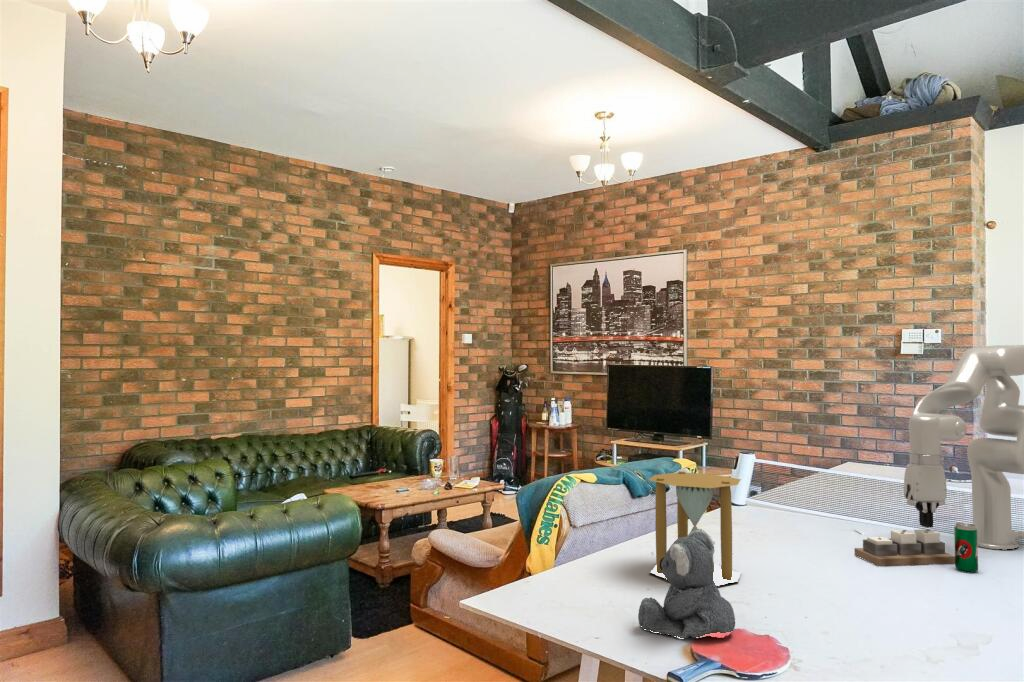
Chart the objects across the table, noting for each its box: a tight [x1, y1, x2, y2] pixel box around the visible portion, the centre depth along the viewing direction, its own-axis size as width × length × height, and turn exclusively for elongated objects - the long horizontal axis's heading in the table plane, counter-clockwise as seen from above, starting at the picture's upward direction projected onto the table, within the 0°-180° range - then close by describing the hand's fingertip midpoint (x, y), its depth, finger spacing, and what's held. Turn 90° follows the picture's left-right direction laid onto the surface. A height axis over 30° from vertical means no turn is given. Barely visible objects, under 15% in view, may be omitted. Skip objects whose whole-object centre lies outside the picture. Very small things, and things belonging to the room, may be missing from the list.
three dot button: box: [890, 529, 916, 544], centre depth 192 cm, size 4×4×4 cm
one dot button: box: [867, 536, 892, 545], centre depth 192 cm, size 4×4×4 cm
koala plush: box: [637, 528, 736, 639], centre depth 144 cm, size 17×18×20 cm
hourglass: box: [647, 470, 741, 580], centre depth 180 cm, size 24×22×25 cm
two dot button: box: [913, 528, 941, 543], centre depth 193 cm, size 4×4×4 cm
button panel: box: [854, 538, 955, 567], centre depth 192 cm, size 22×11×5 cm, turn 96°
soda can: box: [953, 522, 979, 574], centre depth 182 cm, size 5×5×12 cm
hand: (926, 526), depth 193 cm, fingers closed
